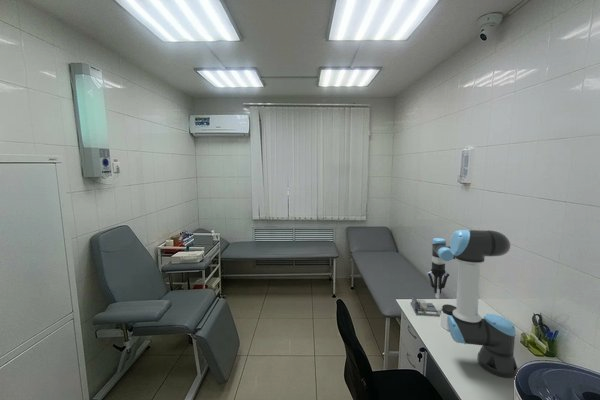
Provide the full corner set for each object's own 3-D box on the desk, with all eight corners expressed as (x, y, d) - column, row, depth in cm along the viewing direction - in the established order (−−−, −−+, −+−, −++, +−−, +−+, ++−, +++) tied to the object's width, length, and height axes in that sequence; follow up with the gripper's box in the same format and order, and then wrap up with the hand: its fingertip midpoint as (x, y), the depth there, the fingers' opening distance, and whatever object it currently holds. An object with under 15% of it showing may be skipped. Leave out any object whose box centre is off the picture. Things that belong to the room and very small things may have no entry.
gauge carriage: (428, 311, 168) (428, 306, 168) (421, 311, 169) (421, 305, 168) (424, 305, 176) (424, 299, 176) (417, 304, 177) (418, 299, 177)
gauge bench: (439, 316, 166) (440, 305, 165) (416, 315, 169) (416, 304, 168) (432, 304, 180) (432, 294, 179) (410, 303, 182) (410, 293, 181)
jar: (454, 333, 149) (455, 313, 148) (439, 327, 155) (439, 308, 154) (459, 326, 156) (460, 307, 154) (444, 321, 161) (445, 302, 160)
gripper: (447, 260, 172) (445, 295, 174) (425, 260, 174) (424, 294, 176) (451, 264, 164) (450, 301, 167) (429, 264, 166) (428, 300, 169)
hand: (437, 297), depth 172 cm, fingers closed
